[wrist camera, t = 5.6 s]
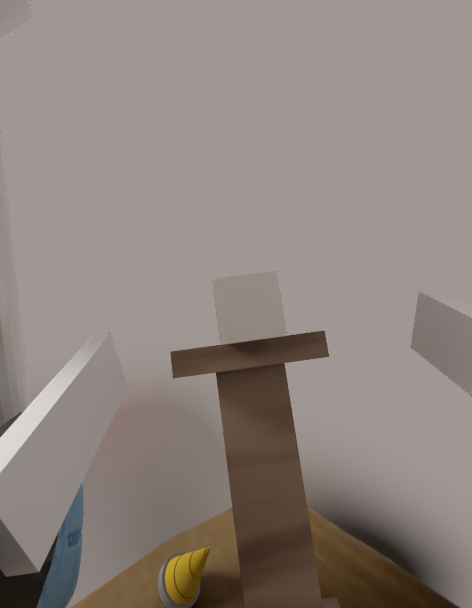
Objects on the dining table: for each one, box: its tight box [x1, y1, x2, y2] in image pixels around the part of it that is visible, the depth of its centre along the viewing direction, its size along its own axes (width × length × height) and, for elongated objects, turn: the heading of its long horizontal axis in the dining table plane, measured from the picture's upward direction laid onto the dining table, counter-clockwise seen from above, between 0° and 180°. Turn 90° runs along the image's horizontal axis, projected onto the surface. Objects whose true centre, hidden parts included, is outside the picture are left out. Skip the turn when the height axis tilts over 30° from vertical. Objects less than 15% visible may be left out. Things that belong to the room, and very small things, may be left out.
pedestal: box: [171, 331, 341, 608], centre depth 25 cm, size 12×12×30 cm
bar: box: [212, 271, 287, 345], centre depth 24 cm, size 24×3×3 cm, turn 0°
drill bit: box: [158, 547, 210, 608], centre depth 33 cm, size 5×5×10 cm
